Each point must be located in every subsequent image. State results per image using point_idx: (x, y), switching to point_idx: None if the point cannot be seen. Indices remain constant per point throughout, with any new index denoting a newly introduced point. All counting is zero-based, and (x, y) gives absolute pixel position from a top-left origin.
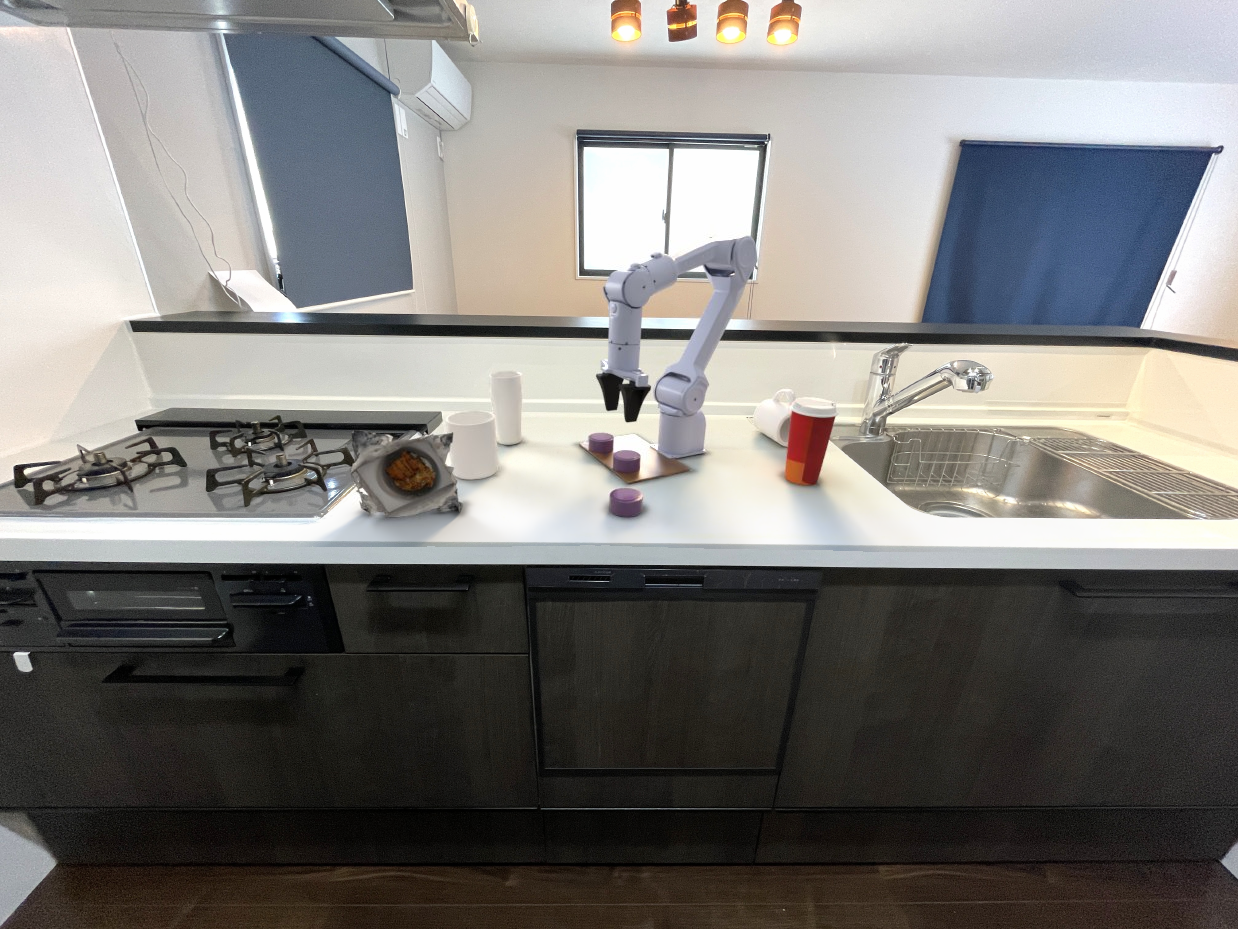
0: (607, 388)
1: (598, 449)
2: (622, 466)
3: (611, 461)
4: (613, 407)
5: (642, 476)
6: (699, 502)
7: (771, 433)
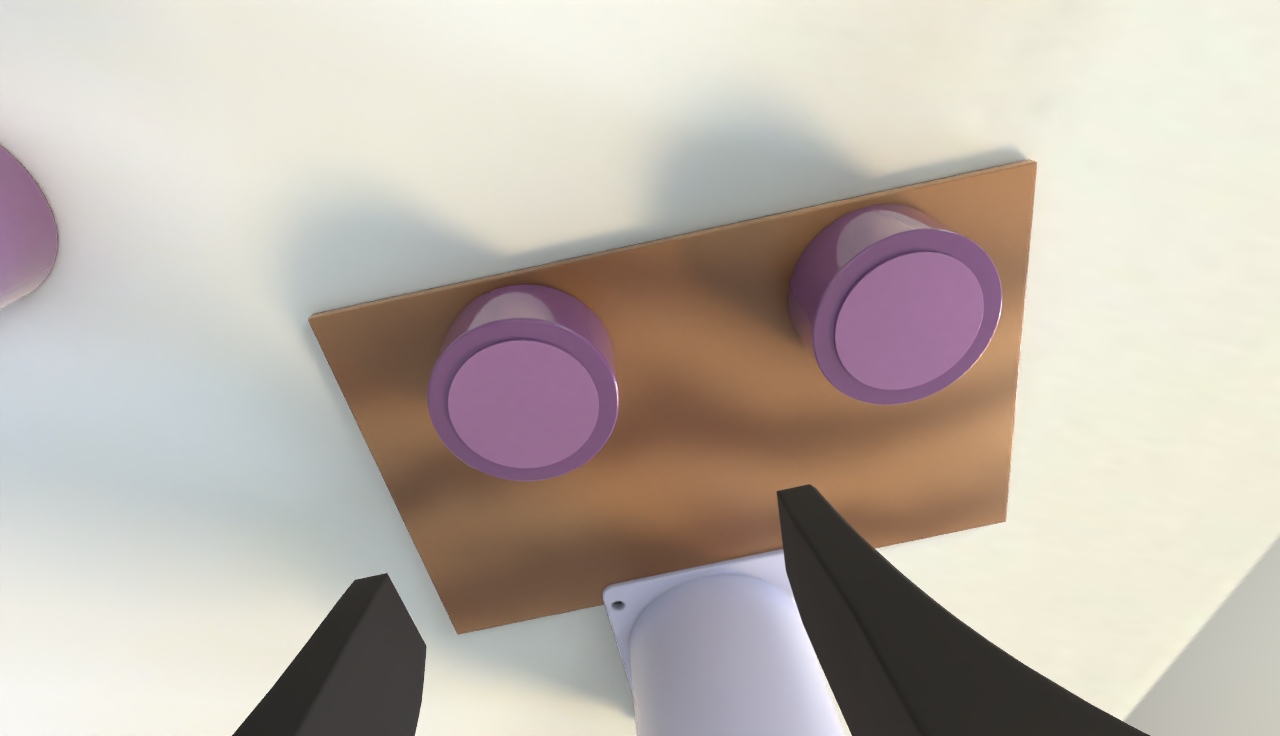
0: (895, 723)
1: (809, 263)
2: (446, 339)
3: (639, 301)
4: (792, 566)
5: (386, 413)
6: (92, 567)
7: None
